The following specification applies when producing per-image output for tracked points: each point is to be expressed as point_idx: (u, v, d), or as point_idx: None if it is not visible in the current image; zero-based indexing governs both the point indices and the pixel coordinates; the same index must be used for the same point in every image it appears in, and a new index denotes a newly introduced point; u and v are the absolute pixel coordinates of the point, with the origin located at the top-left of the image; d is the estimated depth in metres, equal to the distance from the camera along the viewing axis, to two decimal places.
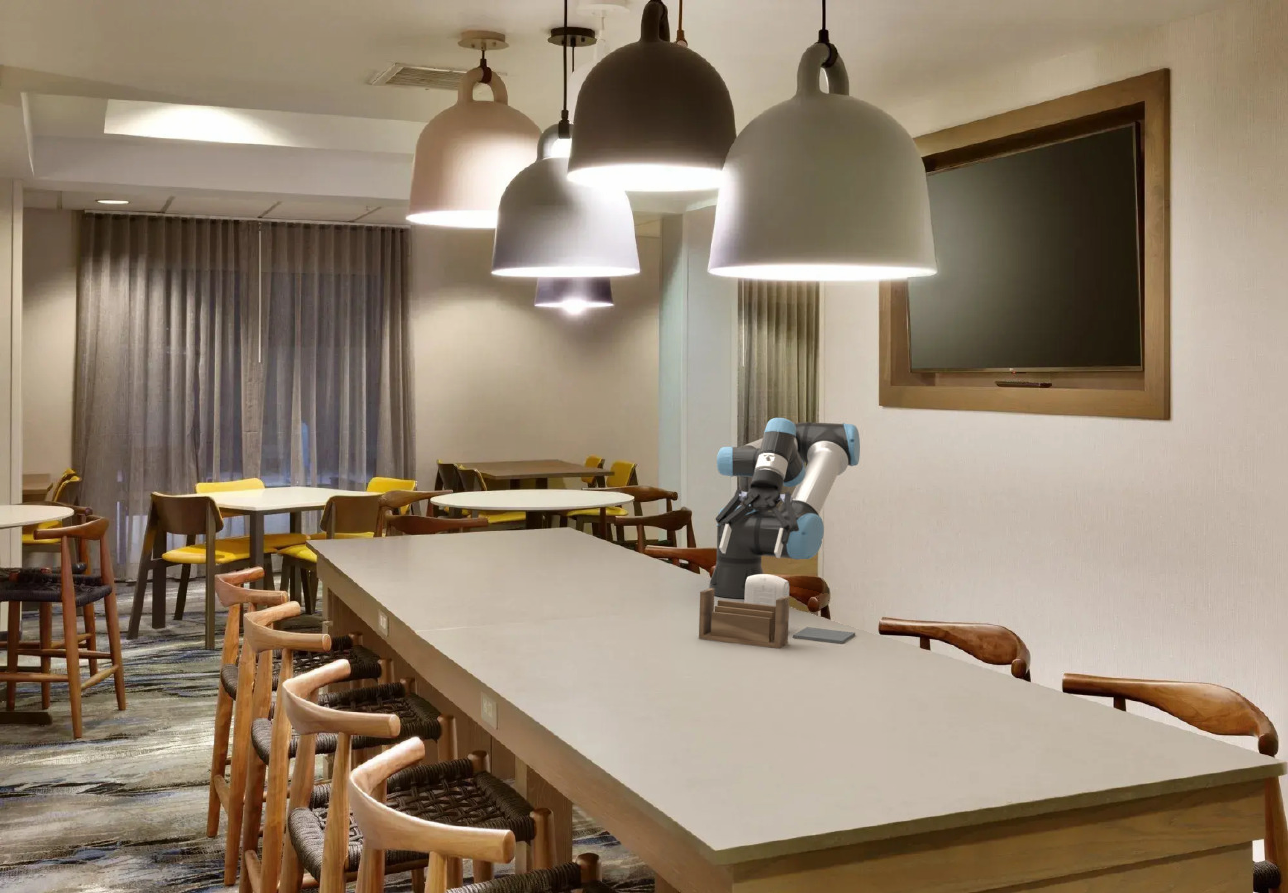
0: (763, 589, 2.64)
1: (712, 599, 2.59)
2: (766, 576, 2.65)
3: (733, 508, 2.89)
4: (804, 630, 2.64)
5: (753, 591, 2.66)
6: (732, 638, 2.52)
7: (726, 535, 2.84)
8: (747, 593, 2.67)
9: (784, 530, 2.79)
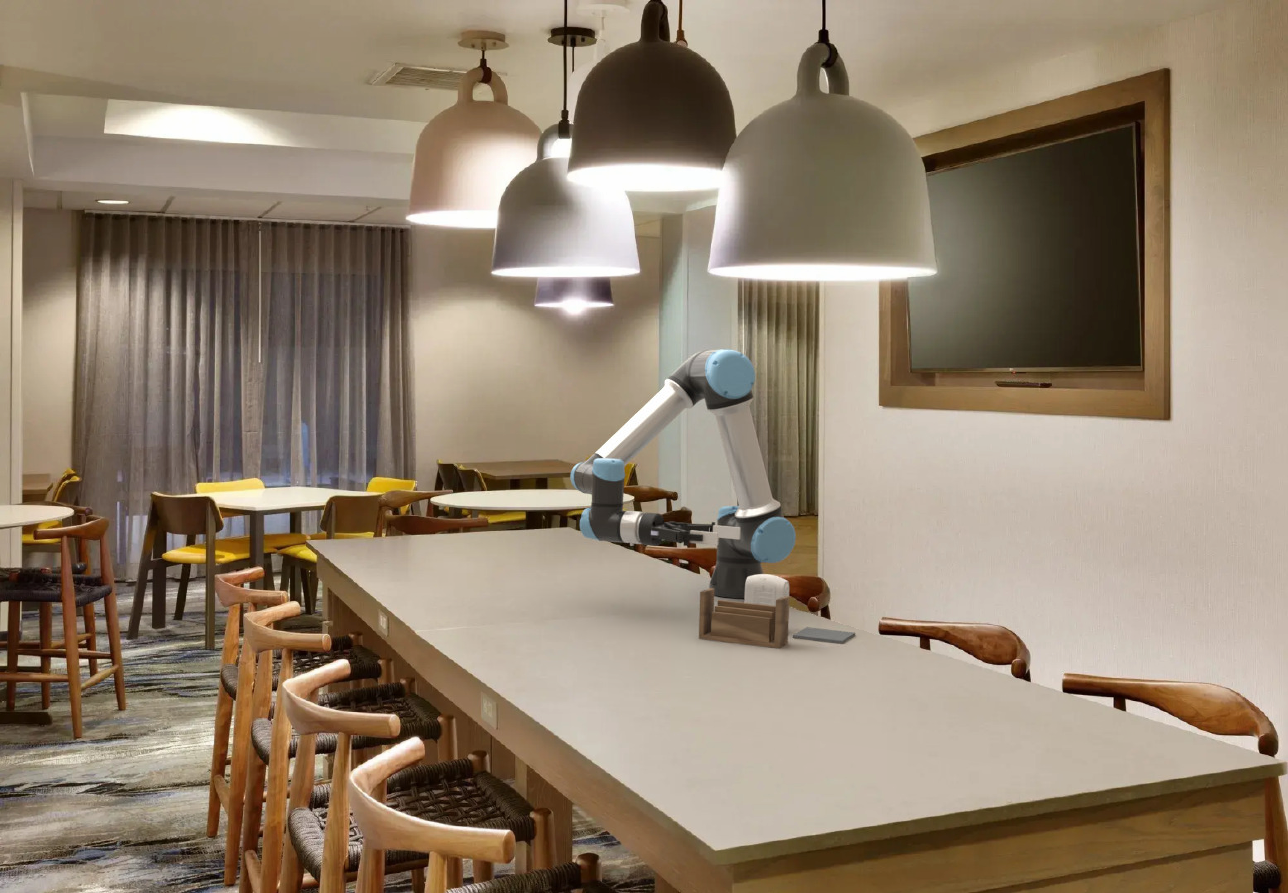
0: (763, 589, 2.64)
1: (712, 599, 2.59)
2: (766, 576, 2.65)
3: None
4: (804, 630, 2.64)
5: (753, 591, 2.66)
6: (732, 638, 2.52)
7: (723, 534, 2.77)
8: (747, 593, 2.67)
9: (690, 540, 2.66)
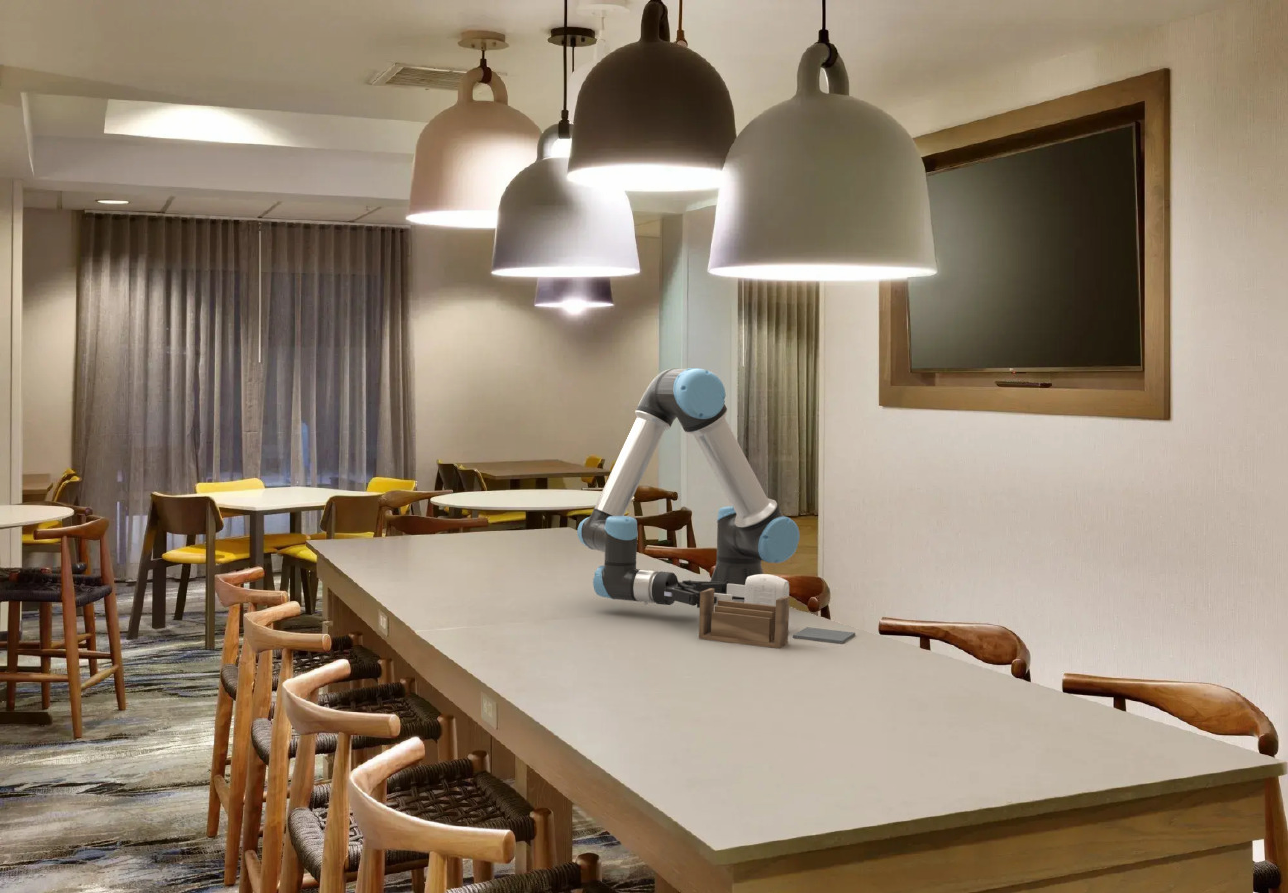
0: (763, 589, 2.64)
1: (712, 599, 2.59)
2: (766, 576, 2.65)
3: None
4: (804, 630, 2.64)
5: (753, 591, 2.66)
6: (732, 638, 2.52)
7: (737, 593, 2.76)
8: (747, 593, 2.67)
9: None
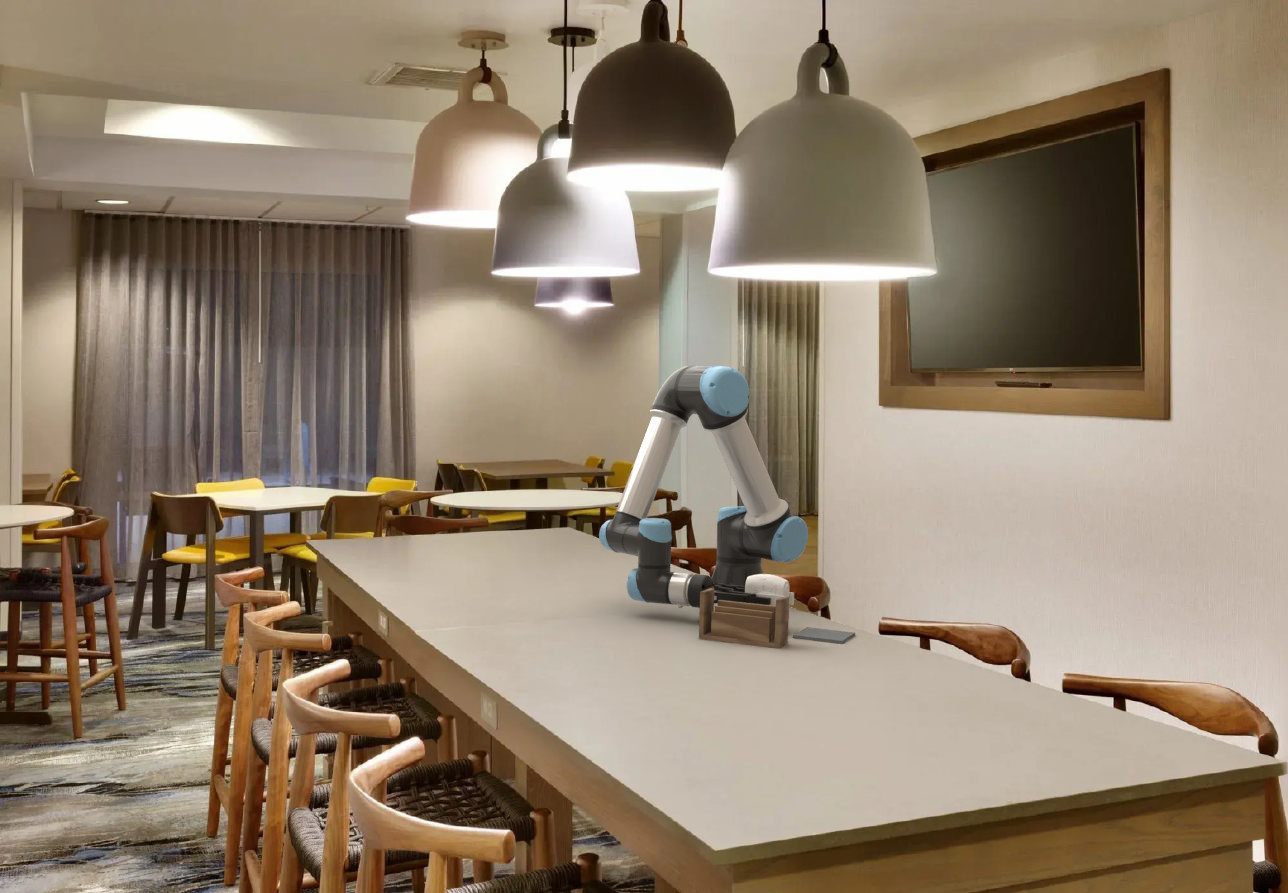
0: (763, 589, 2.64)
1: (712, 599, 2.59)
2: (766, 576, 2.65)
3: None
4: (804, 630, 2.64)
5: (753, 590, 2.66)
6: (732, 638, 2.52)
7: None
8: None
9: None
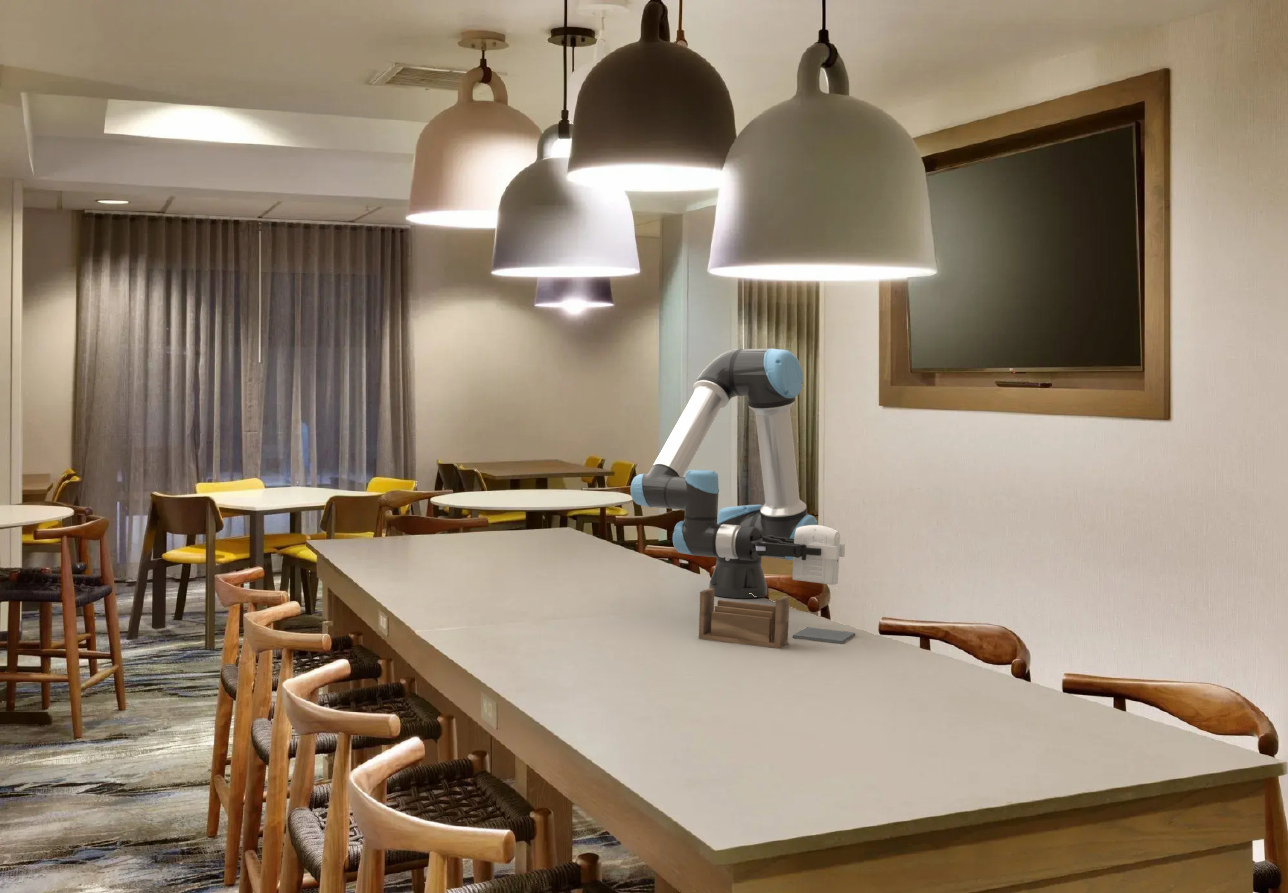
0: (813, 540, 2.58)
1: (712, 599, 2.59)
2: (816, 526, 2.59)
3: None
4: (804, 630, 2.64)
5: (803, 541, 2.59)
6: (732, 638, 2.52)
7: None
8: None
9: None
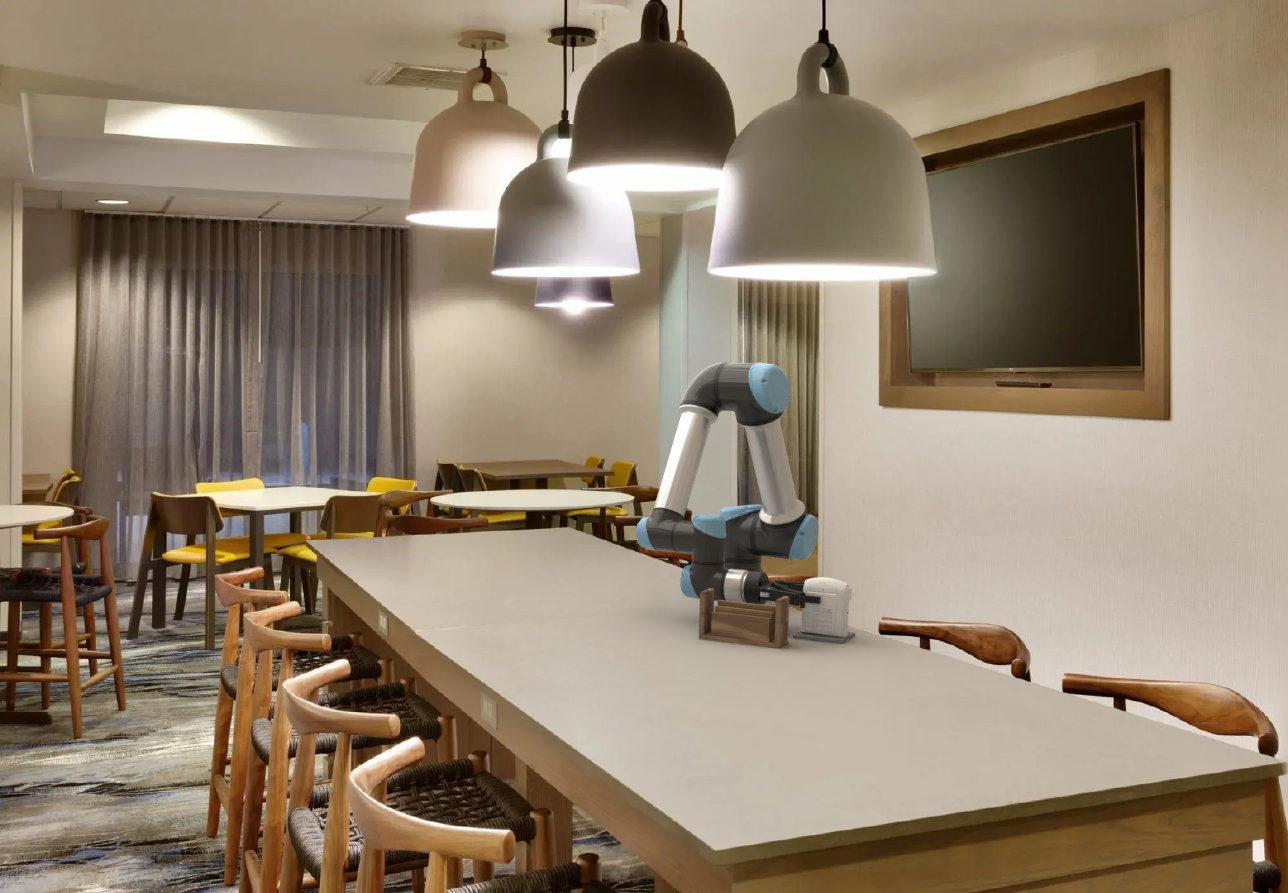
0: None
1: (712, 599, 2.59)
2: (826, 579, 2.59)
3: None
4: None
5: None
6: (732, 638, 2.52)
7: None
8: None
9: None
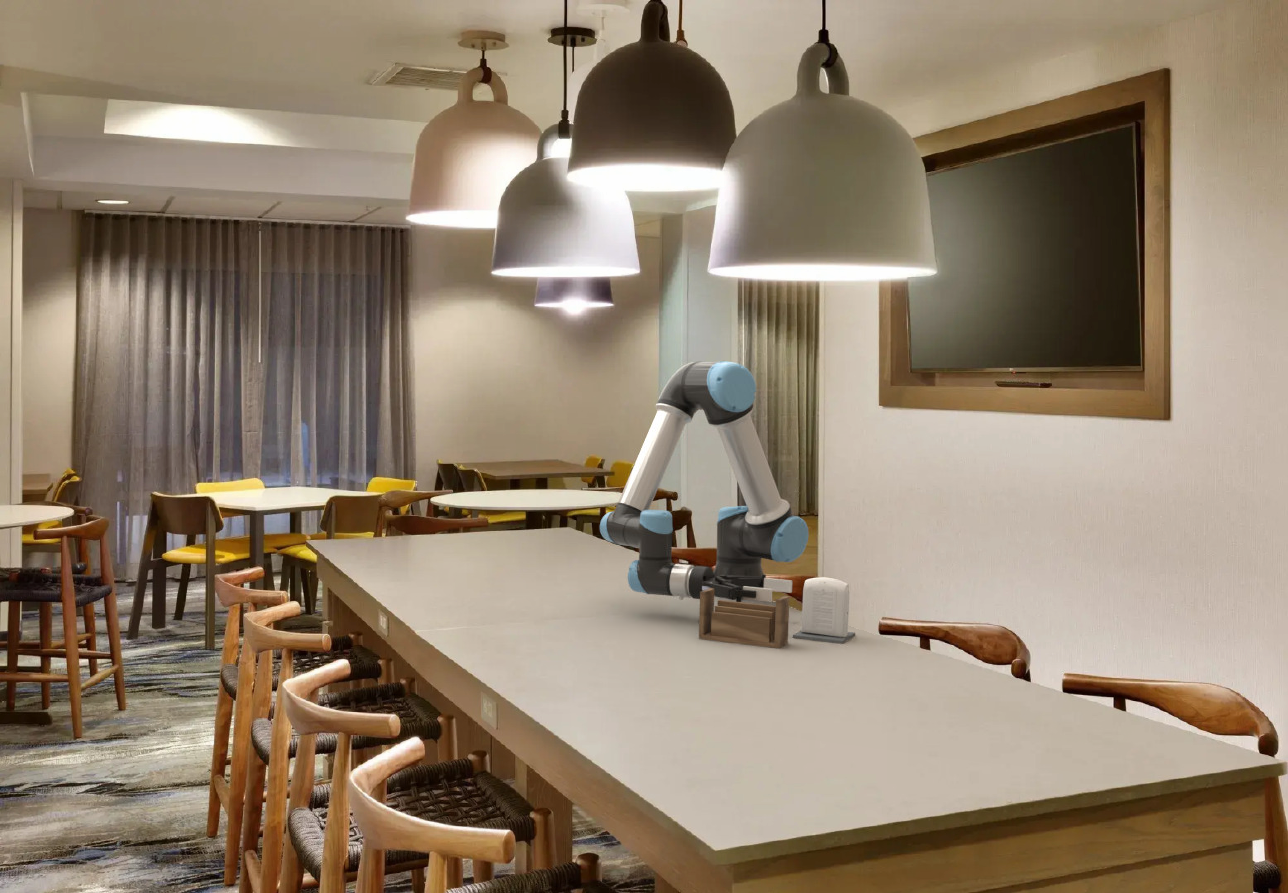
0: (823, 593, 2.58)
1: (712, 599, 2.59)
2: (826, 579, 2.59)
3: None
4: None
5: (812, 594, 2.59)
6: (732, 638, 2.52)
7: (775, 588, 2.72)
8: (806, 597, 2.60)
9: None
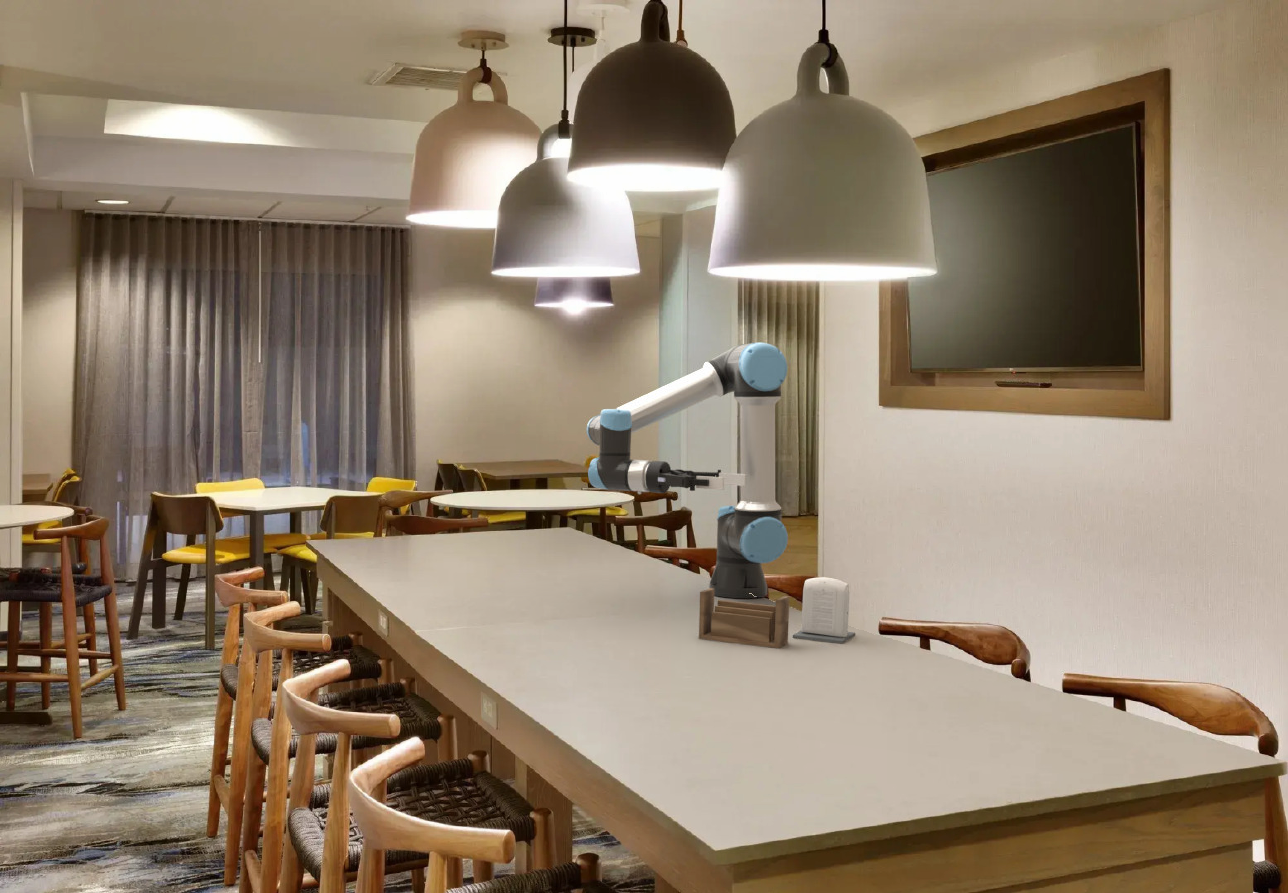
0: (823, 593, 2.58)
1: (712, 599, 2.59)
2: (826, 579, 2.59)
3: None
4: None
5: (812, 594, 2.59)
6: (732, 638, 2.52)
7: (729, 481, 2.83)
8: (806, 597, 2.60)
9: None
